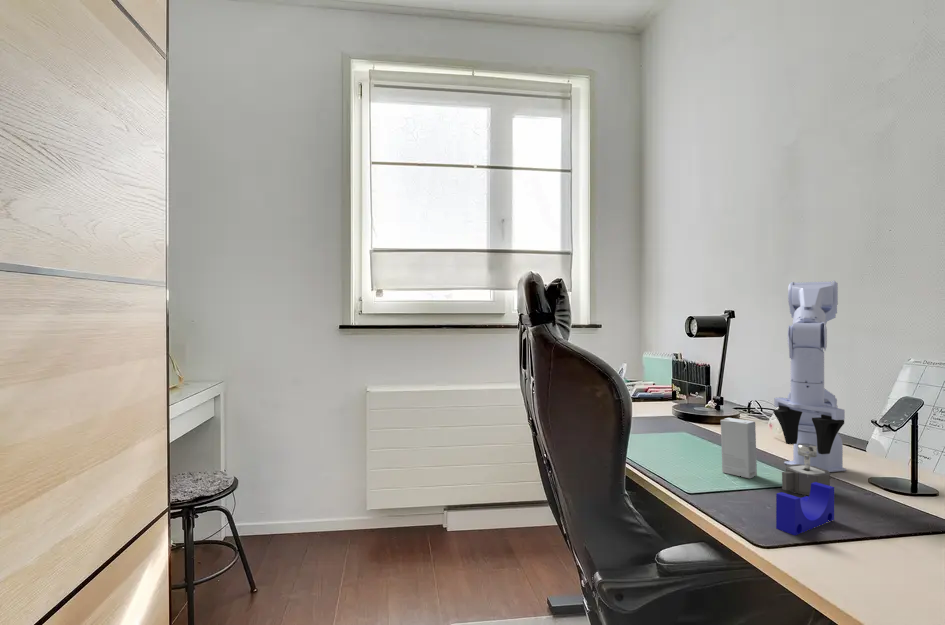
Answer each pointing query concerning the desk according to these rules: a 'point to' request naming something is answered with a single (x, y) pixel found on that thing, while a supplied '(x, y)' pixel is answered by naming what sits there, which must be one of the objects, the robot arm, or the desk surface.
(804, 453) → the plunger
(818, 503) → the blue u-shaped cradle block
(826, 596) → the desk surface
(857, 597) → the desk surface
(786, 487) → the press
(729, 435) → the skincare box
